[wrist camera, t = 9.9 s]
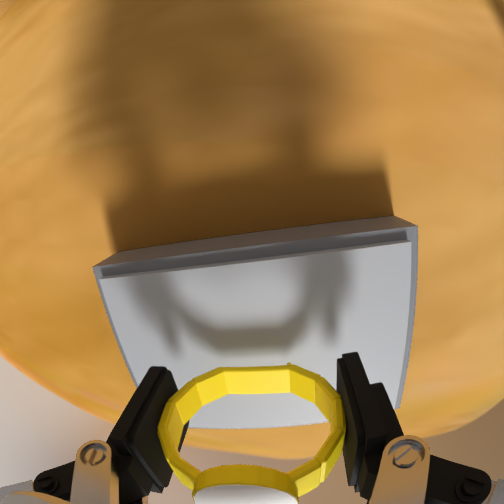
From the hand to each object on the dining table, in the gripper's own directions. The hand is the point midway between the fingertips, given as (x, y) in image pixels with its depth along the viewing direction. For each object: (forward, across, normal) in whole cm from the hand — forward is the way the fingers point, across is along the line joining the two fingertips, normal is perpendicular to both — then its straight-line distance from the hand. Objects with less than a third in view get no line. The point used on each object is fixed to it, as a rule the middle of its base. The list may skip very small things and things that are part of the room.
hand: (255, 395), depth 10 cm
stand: (+5, 0, 0) cm, 5 cm away
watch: (+1, 0, 0) cm, 1 cm away
